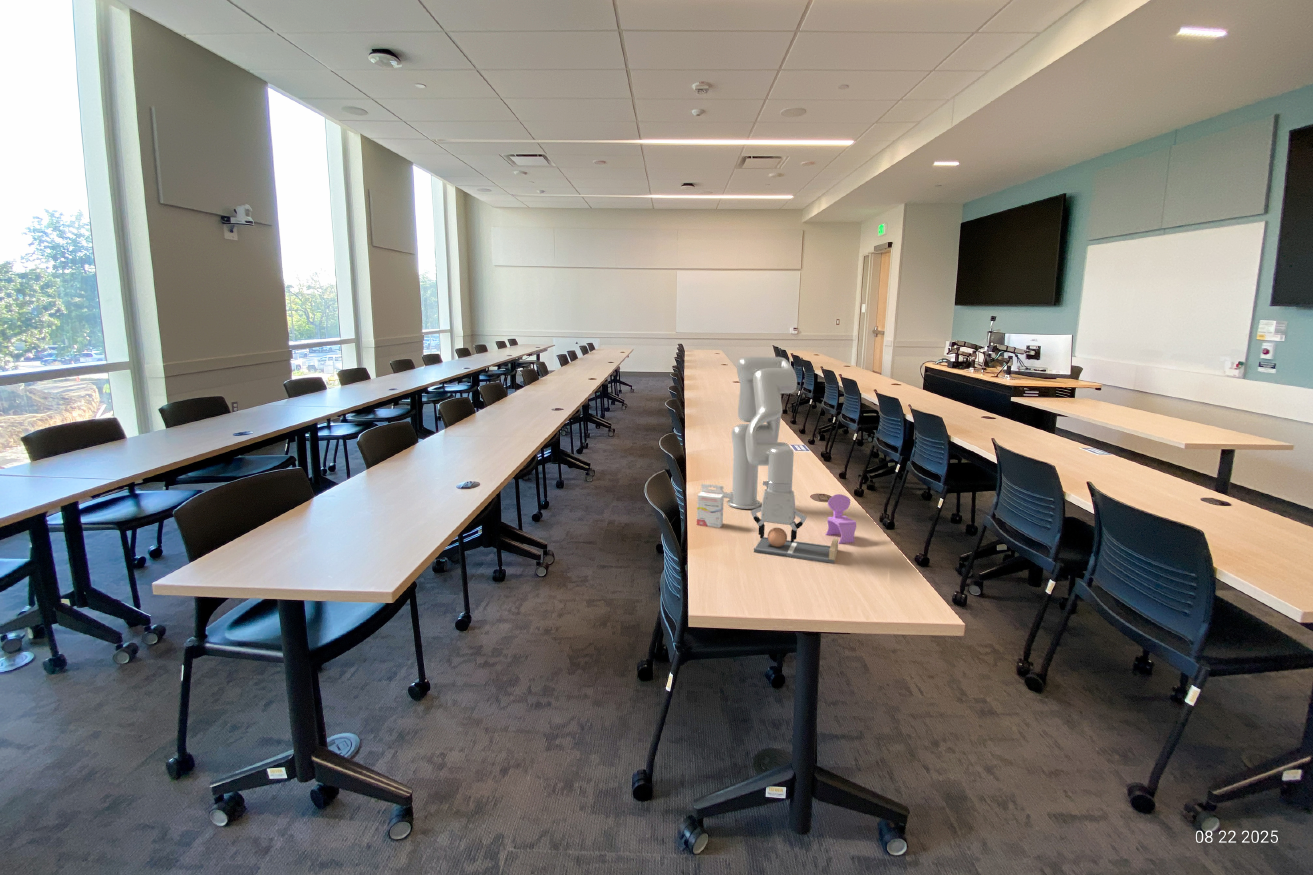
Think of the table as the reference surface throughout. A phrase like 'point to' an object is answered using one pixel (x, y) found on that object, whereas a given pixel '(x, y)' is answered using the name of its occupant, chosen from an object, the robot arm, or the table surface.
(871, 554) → the table surface
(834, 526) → the toy chair
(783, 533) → the ball
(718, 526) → the ink cartridge box
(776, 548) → the lane
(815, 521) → the table surface
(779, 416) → the robot arm
